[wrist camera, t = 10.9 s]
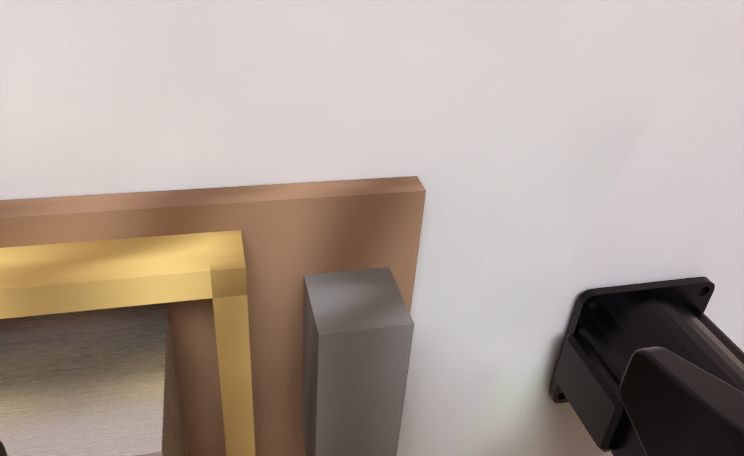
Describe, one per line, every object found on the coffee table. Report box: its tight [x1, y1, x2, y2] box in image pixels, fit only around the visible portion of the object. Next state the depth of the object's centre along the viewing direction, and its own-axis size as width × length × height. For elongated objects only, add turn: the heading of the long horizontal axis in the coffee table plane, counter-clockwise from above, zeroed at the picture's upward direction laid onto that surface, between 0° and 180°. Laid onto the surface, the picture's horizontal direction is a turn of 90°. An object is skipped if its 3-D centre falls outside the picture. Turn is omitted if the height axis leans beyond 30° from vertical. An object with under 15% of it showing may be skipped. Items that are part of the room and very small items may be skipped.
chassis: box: [0, 176, 426, 456], centre depth 21 cm, size 18×14×4 cm
